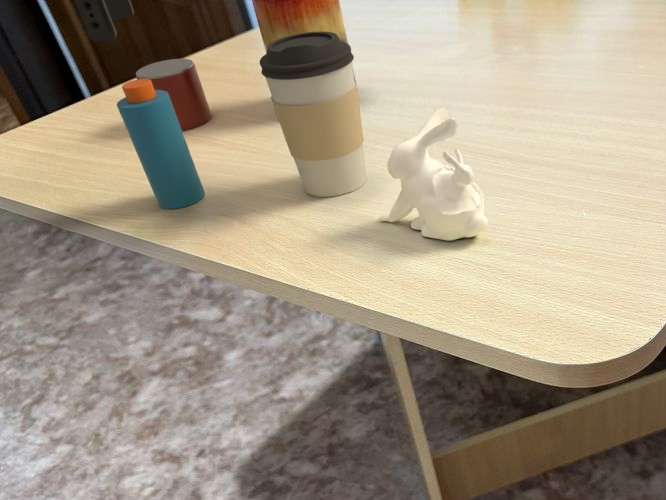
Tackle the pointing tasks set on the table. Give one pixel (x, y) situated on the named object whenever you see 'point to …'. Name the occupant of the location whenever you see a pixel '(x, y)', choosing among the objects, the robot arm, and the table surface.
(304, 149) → the coffee cup
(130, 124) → the teal blue cylinder
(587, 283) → the table surface
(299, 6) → the vase
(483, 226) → the rabbit figurine
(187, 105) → the tin
